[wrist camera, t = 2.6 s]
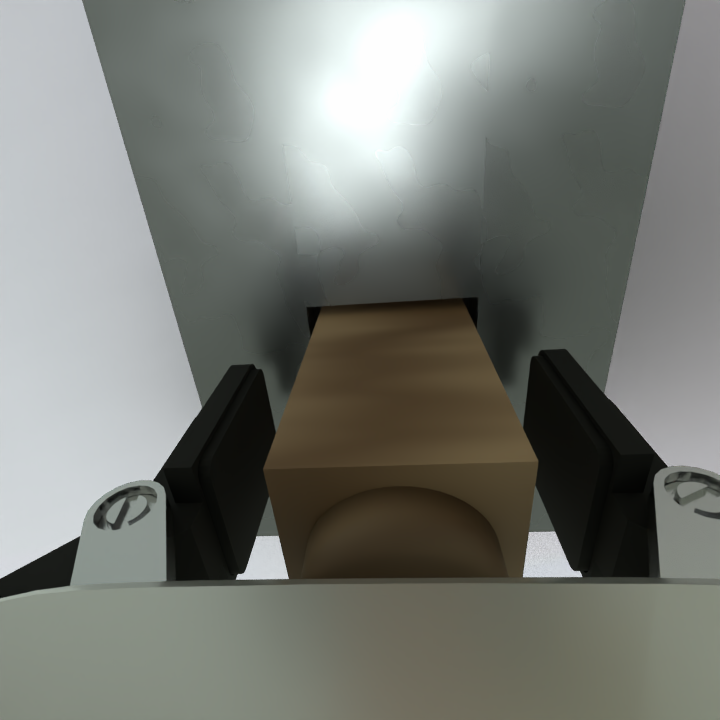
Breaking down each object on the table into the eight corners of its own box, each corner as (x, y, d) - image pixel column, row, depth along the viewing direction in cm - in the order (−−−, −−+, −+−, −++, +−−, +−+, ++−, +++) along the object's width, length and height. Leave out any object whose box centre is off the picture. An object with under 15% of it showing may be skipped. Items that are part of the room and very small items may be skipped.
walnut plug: (447, 268, 15) (570, 529, 5) (446, 369, 17) (535, 707, 7) (333, 275, 15) (239, 535, 5) (344, 374, 17) (289, 702, 7)
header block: (681, -738, 8) (1084, -1927, 3) (532, 441, 20) (575, 531, 15) (44, -584, 9) (-312, -1336, 4) (271, 449, 21) (240, 536, 16)
